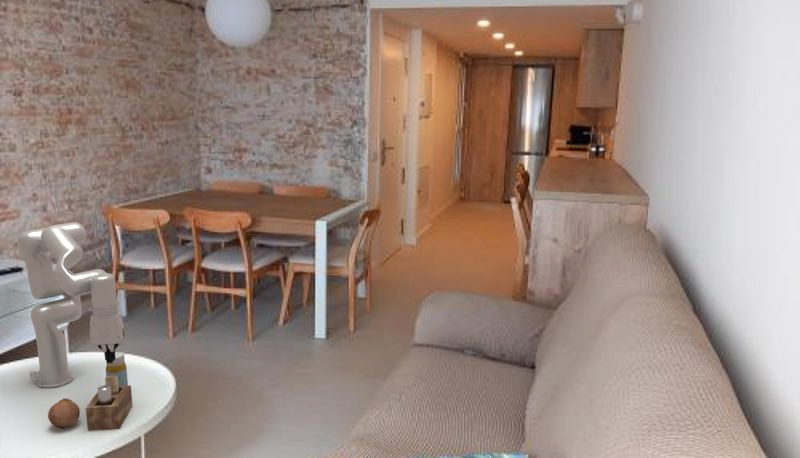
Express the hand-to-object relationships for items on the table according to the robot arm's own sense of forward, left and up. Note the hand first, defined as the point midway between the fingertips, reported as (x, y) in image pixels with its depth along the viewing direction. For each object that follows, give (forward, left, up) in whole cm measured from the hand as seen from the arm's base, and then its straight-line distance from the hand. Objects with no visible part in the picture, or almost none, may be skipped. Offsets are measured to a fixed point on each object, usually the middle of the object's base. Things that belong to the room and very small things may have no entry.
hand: (110, 361), depth 221 cm
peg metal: (0, -8, -14) cm, 16 cm away
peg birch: (0, 0, -14) cm, 14 cm away
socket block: (0, -4, -19) cm, 19 cm away
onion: (-14, -7, -19) cm, 25 cm away
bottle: (-3, +16, -19) cm, 25 cm away
